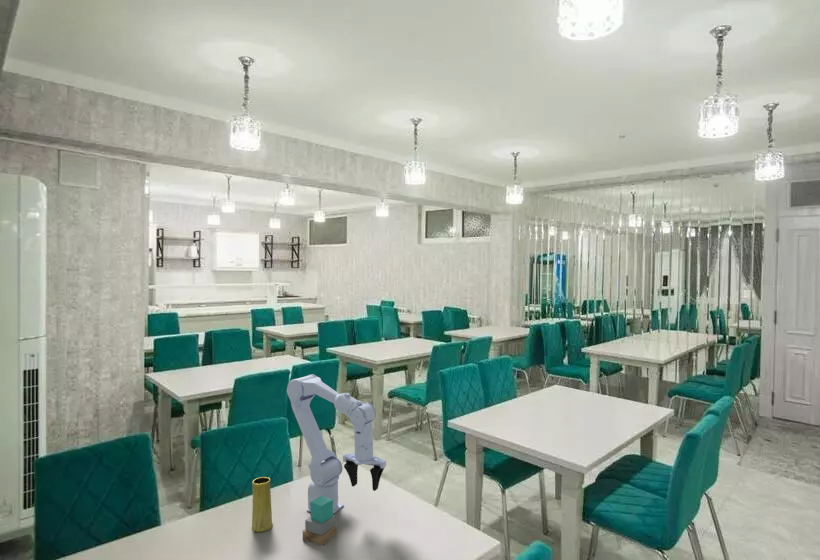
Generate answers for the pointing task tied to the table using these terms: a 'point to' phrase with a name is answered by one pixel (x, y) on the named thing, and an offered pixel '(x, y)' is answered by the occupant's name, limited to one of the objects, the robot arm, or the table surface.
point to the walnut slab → (319, 536)
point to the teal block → (321, 509)
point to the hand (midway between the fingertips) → (364, 487)
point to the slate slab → (319, 525)
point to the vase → (261, 505)
